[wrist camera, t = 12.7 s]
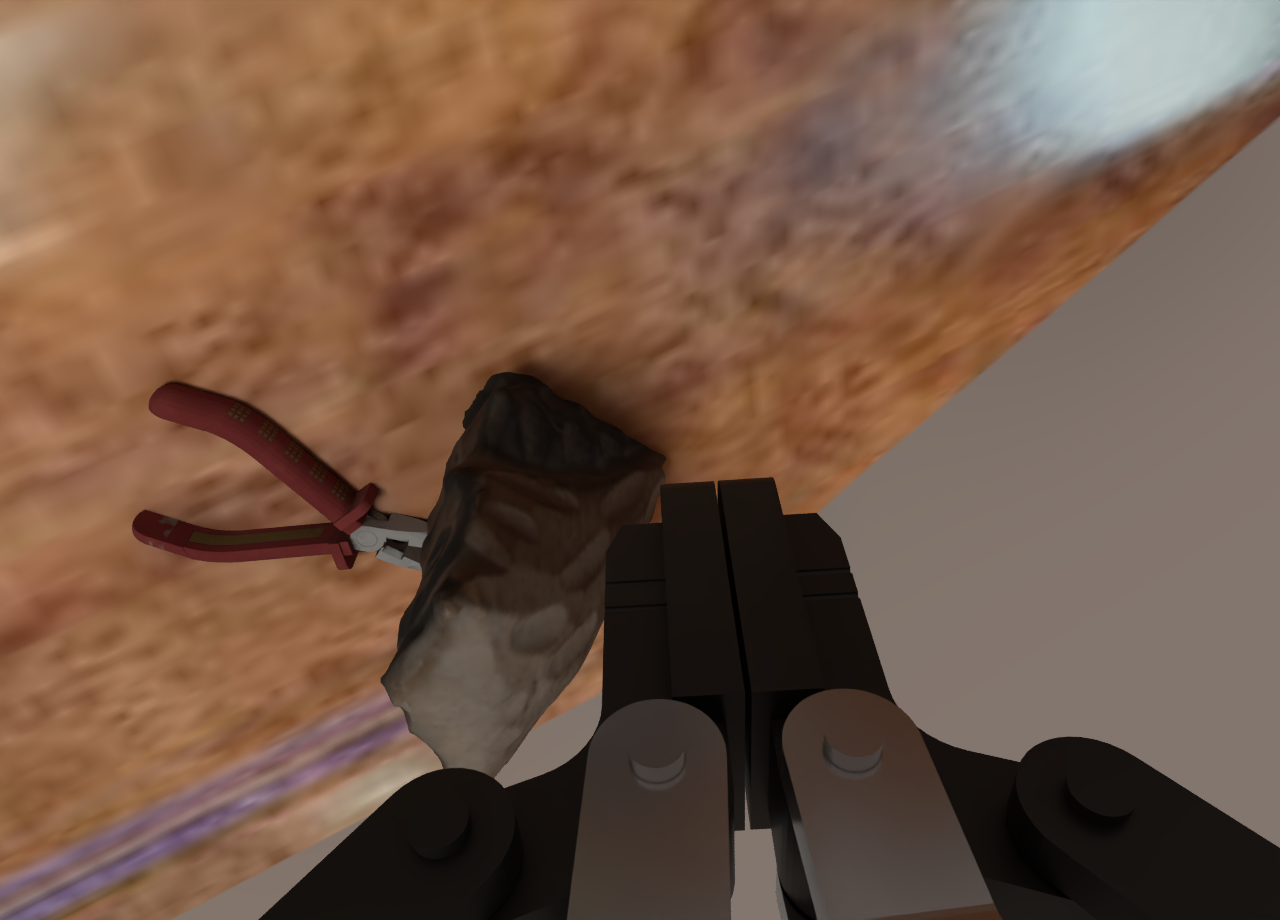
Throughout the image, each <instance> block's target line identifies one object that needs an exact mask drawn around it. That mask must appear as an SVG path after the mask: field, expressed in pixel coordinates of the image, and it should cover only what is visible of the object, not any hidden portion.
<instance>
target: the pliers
mask: <svg viewBox="0 0 1280 920" xmlns="http://www.w3.org/2000/svg"><path fill="white" fill-rule="evenodd" d="M149 410H150V411H151V412H152V413H153V414H154V415H156V416H157V417H159V418H162V419H165V420H168V421H171V422H175V423H178V424H182V425H185V426H189V427H192V428H196V429H199V430H203V431H207V432H210V433H212V434H215V435H217V436H219V437H221V438H224V439H226V440H227V441H229V442H231V443H233V444H234V445H236V446H237V447H239V448H241V449H242V450H243V451H245V452H246V453H248V454H249V455H250V456H252V457H253V458H254V459H255V460H257V461H258V462H259V463H260V464H262V465H263V466H264V467H265V468H266V469H268V470H269V471H270V472H271V473H273V474H274V475H275V476H276V477H277V478H279V479H280V480H281V481H282V482H284V483H285V484H286V485H287V486H289V487H290V488H291V489H292V490H293V491H295V492H296V493H297V494H298V495H300V496H301V497H302V498H303V499H304V500H306V501H307V502H308V503H309V504H311V505H312V506H313V507H314V508H316V509H317V510H318V511H319V512H320V513H322V514H323V515H324V516H325V517H327V518H328V519H329V520H330V521H331V522H332V523H321V524H310V525H298V526H287V527H276V528H265V529H254V530H243V531H223V530H214V529H208V528H203V527H199V526H195V525H192V524H189V523H186V522H183V521H179V520H176V519H173V518H170V517H167V516H164V515H160V514H157V513H154V512H151V511H147V510H144V511H142V512H140V513H139V514H138V515H137V516H136V518H135V519H134V521H133V525H132V531H133V534H134V536H135V537H136V538H137V539H138V540H139V541H140V542H142V543H144V544H147V545H150V546H153V547H157V548H160V549H163V550H166V551H169V552H172V553H175V554H178V555H182V556H185V557H188V558H191V559H195V560H201V561H207V562H245V561H257V560H268V559H279V558H290V557H302V556H313V555H324V554H332V556H333V559H334V561H335V564H336V566H337V568H338V569H339V570H344V569H351V568H352V567H353V565H354V562H355V560H356V557H357V554H358V550H360V551H366V552H374V551H377V550H378V551H377V554H376V557H375V558H378V559H380V560H383V561H385V562H388V563H391V564H394V565H397V566H400V567H405V568H410V569H415V570H420V571H422V569H421V566H420V554H421V548H422V544H423V541H424V539H425V538H426V536H427V522H425V521H422V520H420V519H416V518H413V517H409V516H405V515H401V514H395V513H391V516H390V518H389V520H388V519H387V518H386V516H385V515H383V514H382V513H380V512H378V511H376V510H373V509H371V506H372V505H373V502H374V499H375V497H376V494H377V492H378V489H376V488H375V487H374V486H373V485H372V484H371V483H369V484H368V485H366V486H365V487H363V488H362V489H361V490H359V491H358V492H356V493H354V492H353V491H352V490H351V489H350V488H348V487H347V486H346V485H345V484H344V483H342V482H341V481H340V480H339V479H338V478H337V477H335V476H334V475H333V474H332V473H331V472H329V471H328V470H327V469H326V468H325V467H324V466H322V465H321V464H320V463H319V462H318V461H316V460H315V459H314V458H313V457H312V456H311V455H309V454H308V453H307V452H306V451H305V450H303V449H302V448H301V447H300V446H299V445H298V444H296V443H295V442H294V441H293V440H292V439H290V438H289V437H288V436H287V435H286V434H285V433H283V432H282V431H281V430H280V429H279V428H277V427H276V426H275V425H274V424H272V423H271V422H270V421H268V420H267V419H266V418H264V417H263V416H261V415H260V414H258V413H257V412H255V411H253V410H252V409H250V408H248V407H247V406H245V405H243V404H241V403H238V402H236V401H234V400H231V399H228V398H224V397H221V396H218V395H214V394H211V393H207V392H204V391H200V390H197V389H193V388H190V387H187V386H183V385H180V384H167V385H164V386H161V387H160V388H158V389H157V390H156V391H155V392H154V393H153V395H152V396H151V398H150V401H149ZM391 539H393V540H399V541H404V543H396V542H394V541H392V540H391Z"/></svg>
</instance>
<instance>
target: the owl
mask: <svg viewBox="0 0 1280 920" xmlns="http://www.w3.org/2000/svg"><path fill="white" fill-rule="evenodd" d="M463 427H464V428H465V432H464V433H463V434H462V436H461V437H460V439H459V440H458V441H457V443H456V444H455V446H454V449H453V451H452V454H451V456H450V457H449V459H448V461H447V463H446V469H445V475H444V478H443V487H442V490H441V494H440V497H439V500H438V502H437V504H436V505H435V507H434V508H433V510H432V511H431V513H430V515H429V517H428V521H427V536H426V538H425V539H424V541H423V544H422V548H421V554H420V566H421V569H422V580H421V583H420V586H419V589H418V591H417V593H416V596H415V598H414V599H413V601H412V602H411V604H410V605H409V607H408V608H407V609H406V611H405V612H404V615H403V617H402V618H401V621H400V625H399V632H398V642H397V649H398V651H397V653H396V655H395V657H394V658H393V660H392V662H391V663H390V666H389V668H388V670H387V671H386V673H385V674H384V675H383V676H382V677H381V683H382V684H383V686H384V687H385V689H386V691H387V693H388V696H389V698H390V700H391V702H392V703H393V705H394V706H396V707H401V709H402V710H403V711H404V714H405V717H406V721H407V724H408V729H409V732H410V733H412V734H414V735H416V736H417V737H418V738H420V739H421V740H422V741H423V742H425V743H426V744H427V745H428V746H429V747H430V748H431V749H432V750H433V751H434V753H435V754H436V755H437V756H438V757H439V759H440V761H441V763H442V766H443V769H447V768H467V769H473V770H477V771H480V772H483V773H485V774H487V775H489V776H490V777H492V778H494V777H495V776H496V775H497V774H498V773H499V771H500V770H501V769H502V767H503V766H504V765H506V764H507V763H508V761H509V760H510V759H511V757H512V756H513V754H514V753H515V752H516V750H517V749H518V747H519V746H520V745H521V743H522V742H523V740H524V739H525V737H526V736H527V734H528V733H529V731H530V730H531V729H532V727H533V726H534V725H535V723H536V722H537V721H538V719H539V718H540V717H541V715H542V714H543V713H544V712H545V710H546V709H547V708H548V707H549V706H550V705H551V704H552V703H553V702H554V701H555V700H556V699H557V697H558V696H559V695H560V694H561V692H562V691H563V690H564V689H565V687H566V686H567V685H568V684H569V683H570V682H571V681H572V679H573V678H574V677H575V675H576V674H577V673H578V671H579V669H580V668H581V666H582V664H583V663H584V661H585V659H586V657H587V655H588V653H589V651H590V649H591V646H592V644H593V642H594V640H595V638H596V636H597V634H598V631H599V629H600V627H601V625H602V623H603V620H604V614H605V568H606V551H607V550H608V548H609V546H610V545H611V543H612V541H613V540H614V538H615V537H616V535H617V533H618V532H619V530H620V528H621V527H622V525H633V524H649V523H650V521H651V519H652V516H653V513H654V508H655V503H656V500H657V498H658V496H659V494H660V485H661V484H664V480H665V475H664V472H663V469H662V465H663V464H664V462H665V460H666V458H665V456H663V455H661V454H658V453H656V452H654V451H652V450H651V449H649V448H648V447H646V446H645V445H643V444H641V443H639V442H637V441H635V440H634V439H632V438H630V437H628V436H627V435H625V434H624V433H623V432H622V431H621V430H620V429H618V428H616V427H615V426H613V425H610V424H608V423H605V422H602V421H600V420H598V419H597V418H595V417H594V416H592V415H591V414H590V413H589V412H588V410H587V409H586V408H585V407H583V406H582V405H580V404H578V403H575V402H572V401H568V400H564V399H562V398H560V397H558V396H557V395H555V394H554V393H553V392H552V390H551V389H550V388H549V387H548V386H547V385H546V384H544V383H543V382H541V381H540V380H538V379H536V378H534V377H532V376H528V375H522V374H515V373H511V372H506V373H500V374H496V375H493V376H491V377H490V378H489V380H488V381H487V383H486V385H485V387H484V390H481V391H479V393H478V394H477V395H476V398H475V400H474V401H473V403H472V405H471V406H470V408H469V409H468V410H467V411H465V418H464V420H463Z"/></svg>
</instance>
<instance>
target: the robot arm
mask: <svg viewBox="0 0 1280 920" xmlns="http://www.w3.org/2000/svg"><path fill="white" fill-rule="evenodd" d="M660 495H661V512H662V523H649V524H633V525H622V527H621V528H620V530H619V532H618V533H617V535H616V537H615V538H614V540H613V541H612V543H611V545H610V546H609V548H608V550H607V551H606V568H605V614H604V648H603V687H602V710H601V717H600V721H599V724H598V726H597V728H596V731H595V732H594V734H593V736H592V737H591V739H590V740H589V742H588V743H587V744H586V746H585V747H584V748H583V749H582V750H581V751H580V752H579V753H578V754H577V755H576V756H574V757H573V758H572V759H571V760H569V761H568V762H567V763H565V764H563V765H562V766H560V767H558V768H556V769H555V770H552V771H550V772H547V773H545V774H543V775H540V776H537V777H534V778H532V779H529V780H526V781H523V782H521V783H518V784H515V785H512V786H509V787H507V788H503V787H502V785H501V784H500V783H499V782H497V781H496V780H495V779H494V778H492V777H490V776H489V775H487V774H485V773H483V772H480V771H477V770H473V769H467V768H447V769H441V770H436V771H433V772H430V773H427V774H424V775H422V776H420V777H418V778H415V779H414V780H412V781H410V782H409V783H407V784H406V785H404V786H403V787H401V788H400V789H399V790H398V791H396V792H395V793H394V794H393V795H392V796H391V797H390V798H389V799H387V800H386V801H385V802H384V803H383V804H382V805H381V806H380V807H379V808H378V809H377V810H376V811H375V812H374V813H372V814H371V815H370V816H369V817H368V818H367V819H366V820H365V821H364V822H363V823H362V824H361V825H360V826H358V827H357V828H356V829H355V830H354V832H352V833H351V834H350V835H349V836H348V837H347V838H346V839H345V840H343V841H342V842H341V843H340V844H339V845H338V846H337V847H336V848H335V849H334V850H333V851H332V852H331V853H330V854H328V855H327V856H326V857H325V858H324V859H323V860H322V861H321V862H320V863H319V864H318V865H317V866H316V867H314V868H313V869H312V870H311V871H310V872H309V873H308V874H307V875H306V876H305V877H304V878H303V879H302V880H300V882H298V883H297V884H296V885H295V886H294V887H293V888H292V889H291V890H290V891H289V892H288V893H287V894H286V895H285V896H283V897H282V898H281V899H280V900H279V901H278V902H277V903H276V904H275V905H274V906H273V907H272V908H271V909H269V910H268V911H267V912H266V913H265V914H264V915H263V916H262V917H261V918H260V919H259V920H731V901H730V900H731V897H732V895H733V890H734V884H735V864H734V863H735V861H734V831H740V830H745V790H746V799H747V806H748V814H749V821H750V829H770V828H771V830H772V836H773V843H774V850H775V856H776V863H777V877H776V896H777V903H778V907H779V911H780V916H781V920H1280V848H1279V847H1277V846H1276V845H1274V844H1273V843H1271V842H1269V841H1268V840H1266V839H1265V838H1263V837H1262V836H1260V835H1258V834H1257V833H1255V832H1254V831H1252V830H1250V829H1249V828H1247V827H1246V826H1244V825H1242V824H1241V823H1239V822H1238V821H1236V820H1235V819H1233V818H1231V817H1230V816H1228V815H1227V814H1225V813H1223V812H1222V811H1220V810H1219V809H1217V808H1215V807H1214V806H1212V805H1211V804H1209V803H1208V802H1206V801H1204V800H1203V799H1201V798H1200V797H1198V796H1197V795H1195V794H1193V793H1192V792H1190V791H1189V790H1187V789H1186V788H1184V787H1182V786H1181V785H1179V784H1178V783H1176V782H1174V781H1173V780H1171V779H1170V778H1168V777H1167V776H1165V775H1163V774H1162V773H1160V772H1159V771H1157V770H1155V769H1154V768H1152V767H1151V766H1149V765H1148V764H1146V763H1144V762H1143V761H1141V760H1140V759H1138V758H1136V757H1135V756H1133V755H1131V754H1129V753H1128V752H1126V751H1124V750H1122V749H1120V748H1118V747H1115V746H1113V745H1111V744H1108V743H1105V742H1101V741H1098V740H1094V739H1089V738H1082V737H1060V738H1054V739H1050V740H1046V741H1044V742H1042V743H1040V744H1038V745H1036V746H1034V747H1033V748H1032V749H1030V750H1029V751H1028V752H1027V753H1026V754H1025V756H1024V757H1023V758H1022V760H1021V762H1017V761H1012V760H1007V759H1003V758H999V757H994V756H990V755H985V754H981V753H976V752H971V751H967V750H964V749H960V748H957V747H953V746H951V745H948V744H946V743H943V742H941V741H939V740H937V739H935V738H933V737H931V736H930V735H928V734H926V733H925V732H924V731H922V730H921V729H919V728H918V727H917V726H916V725H915V724H914V722H913V721H912V720H911V719H910V717H909V716H908V715H907V714H906V713H905V712H904V711H902V710H901V709H900V708H899V707H898V706H897V705H896V703H895V701H894V700H893V698H892V695H891V693H890V691H889V688H888V685H887V682H886V678H885V675H884V672H883V669H882V666H881V663H880V660H879V656H878V653H877V650H876V647H875V644H874V641H873V638H872V634H871V631H870V628H869V625H868V622H867V619H866V616H865V612H864V609H863V606H862V603H861V600H860V598H858V590H857V587H856V584H855V581H854V578H853V575H852V573H851V572H850V565H849V562H848V560H847V556H846V553H845V550H844V547H843V544H842V541H841V537H840V536H839V535H838V534H837V533H836V532H835V531H834V530H833V529H832V528H831V527H830V526H829V525H828V524H827V523H826V522H825V521H824V520H823V519H822V518H821V517H820V516H819V515H818V514H817V513H807V514H791V515H783V513H782V509H781V504H780V500H779V496H778V492H777V488H776V484H775V481H774V478H773V477H769V478H753V479H737V480H721V481H718V503H717V496H716V489H715V484H714V481H709V482H693V483H677V484H661V485H660Z"/></svg>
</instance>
